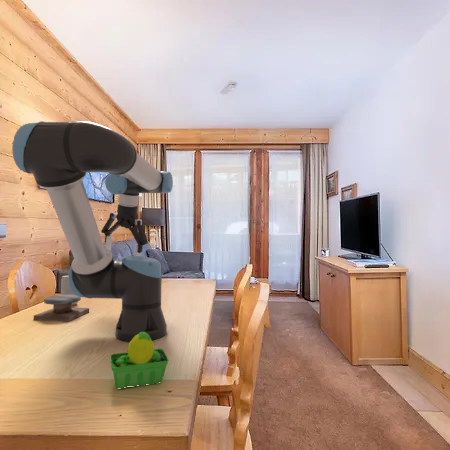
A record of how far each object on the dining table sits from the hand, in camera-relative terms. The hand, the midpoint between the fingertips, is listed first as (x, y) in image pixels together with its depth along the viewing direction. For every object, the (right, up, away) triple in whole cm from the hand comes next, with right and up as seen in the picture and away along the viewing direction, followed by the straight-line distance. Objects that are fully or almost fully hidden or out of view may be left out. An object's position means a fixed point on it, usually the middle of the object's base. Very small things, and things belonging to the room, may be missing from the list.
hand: (122, 255), depth 134 cm
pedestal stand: (-17, -21, -14) cm, 30 cm away
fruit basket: (+24, -21, -64) cm, 72 cm away
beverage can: (-23, -21, +3) cm, 31 cm away
